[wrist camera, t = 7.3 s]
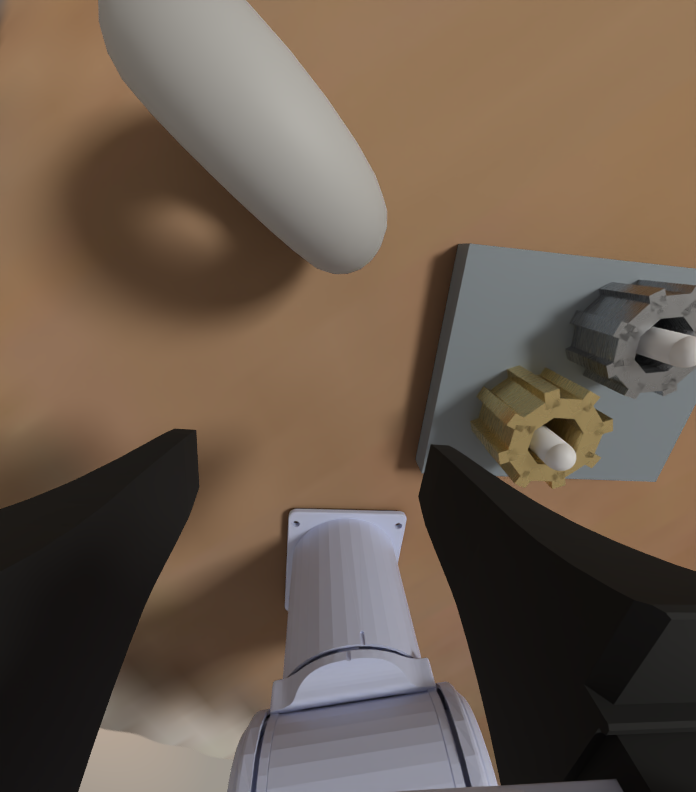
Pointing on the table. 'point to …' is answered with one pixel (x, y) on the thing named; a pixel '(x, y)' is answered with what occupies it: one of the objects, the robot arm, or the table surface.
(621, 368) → the fixed gear
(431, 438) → the gear board
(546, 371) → the brass gear
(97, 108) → the table surface
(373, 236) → the donut
